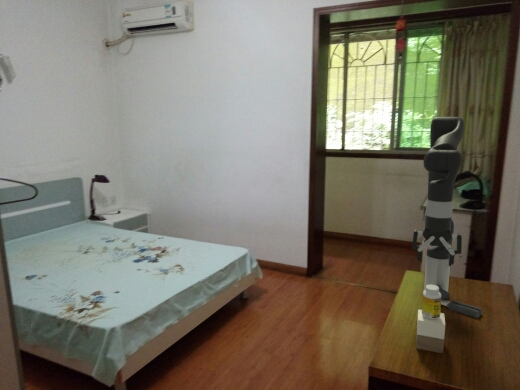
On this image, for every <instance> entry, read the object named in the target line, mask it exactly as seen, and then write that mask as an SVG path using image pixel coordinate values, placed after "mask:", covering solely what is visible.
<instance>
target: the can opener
mask: <svg viewBox="0 0 520 390" xmlns="http://www.w3.org/2000/svg"><path fill="white" fill-rule="evenodd" d="M439 292H440V293H441V306H442V305H443V306H445V307H447V308H448V310H451V311H453V312H456V313H460V314H463V315H467V316H469V317H473V318H476V319H478V318H480V316H482V313H483V311H482V308H480V307H477V306H474V305H470V304H466V303H464V302H460V301H457V300H454V299H453V300H451V301H450V300H449V298H450V295H451V294H450V292H449V291H448V292H447V291H445V290H443V289H439ZM442 298H445V299H447V300H445V299H442Z"/></svg>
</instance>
